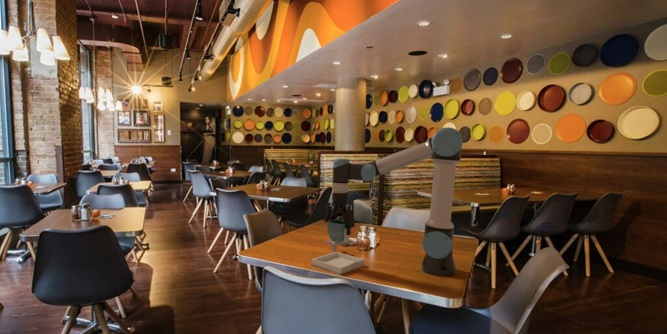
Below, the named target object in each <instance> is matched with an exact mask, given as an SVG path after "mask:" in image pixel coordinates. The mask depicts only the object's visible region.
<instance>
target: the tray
mask: <svg viewBox="0 0 667 334" xmlns="http://www.w3.org/2000/svg"><path fill="white" fill-rule="evenodd" d="M311 266H312V267H315V268H318V269H321V270H324V271H327V272H330V273H333V274H336V275H340V276H341V275H344V274H346V273H349V272H351V271H354V270H357V269H359V268H362V267H365V259H364V258H360V257H356V256H353V255H350V254H345V253H342V252H338V251H336V252H333V251H332V252H331V253H327V254H324V255H320V256H318V257H313V258H311Z"/></svg>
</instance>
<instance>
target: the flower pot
mask: <svg viewBox="0 0 667 334" xmlns="http://www.w3.org/2000/svg"><path fill="white" fill-rule="evenodd" d="M326 226H327V227H326V228H327V235H329V237H330V241H336V242H343V241H344V231H345V228H346V226H345V222H344V220H338V219H336V218H334V220H332V221H329V222H327V223H326Z"/></svg>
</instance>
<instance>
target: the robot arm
mask: <svg viewBox="0 0 667 334" xmlns="http://www.w3.org/2000/svg"><path fill="white" fill-rule="evenodd" d="M462 149H463V137H462V134H461V133H460V132H459V131H458V130H457V129H456V128H453V127H442V128H440V129H438V130H437V131H436V132H434V134H433V135H432V136H431V137H429V138H427V139H426V141H425V142H422V143H420V144H417V145H413V146H411V147H409V148H405V149H403V150H400V151H397V152H394V153H392V154H389V155H387V156H384V157H381V158H378V159H376V160H372V161H370V162H366V163H351V162H350V159H349V158H334V159H333V163H332V164H333V165H332V184H331V185H332V187H331V188H332V189H331V191H332V193H331V200H332V201H329V202H327V203H326V212H325V216H324V217H325V218H324V223H326V224H327V222H329V221H332V220H335V219H336V216H337V214H338V213H340V215H342V217H343V219H344V222H345V226H346V228H345V231H344V244H345V243H349V242H350V236H351V234H352V233H351V232H352V231H351V229H352V228H354V227H355V219H354V213H353V209H354V206H353V205H352V204H351V205H350V204H349V203H348V201H349V184H350V183H349V181H360V182H361V181H363V182H373V181H375V178H377V177H379V176H382V175H384V174H388V173H390V172H393V171H396V170H398V169H399V170H400V169H402V168H405V167H407V166H410V165H413V164H416V163H419V162H422V161H425V160H426V161H427V160H428V159H431V161H432V162H433V164H434V168H433V176H432V185H431V186H432V188H431V198H430V199H431V201H430V208H429V218H428V220H427V221H426V222H425V224H424V232H423V233H424V235H423V239H422V242H421V244H422V249H423V251H424V252H425V255H424V258H423V260H422V263H421V270H422V271H423V272H424V273H427V274H430V275H433V276H439V277H449V276H450V277H451V276H454V275H456V273H457V266H456V262H455V259H454V256H453V254H454V253H453V252H454V231H455V224H454V223H453V222H451V221H452V220H451V219H452V209H453V202H454V201H453V200H454V190H455V181H456V179H455V178H456V169H457V165H458V164H459V163H460V162H461V157H462ZM327 235H328V234H327ZM327 238H328V239H330V237H329V235H328V237H327ZM330 240H331V239H330Z"/></svg>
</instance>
